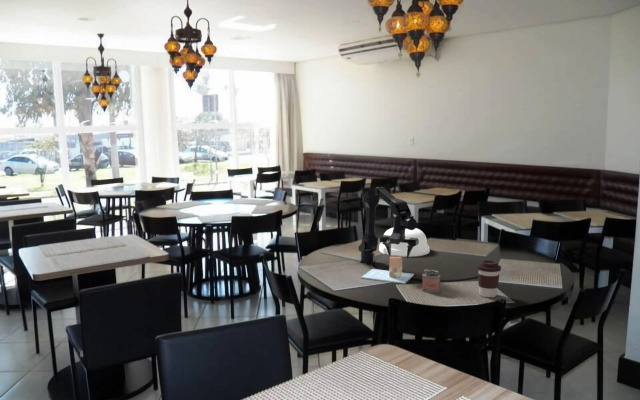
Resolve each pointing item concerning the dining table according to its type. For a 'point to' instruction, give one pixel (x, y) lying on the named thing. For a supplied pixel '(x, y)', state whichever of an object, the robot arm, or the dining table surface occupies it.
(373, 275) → the blueprint board
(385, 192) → the robot arm
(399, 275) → the birch block
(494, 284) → the coffee cup
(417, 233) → the dome cover
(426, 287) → the lighter
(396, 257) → the peach block
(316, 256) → the dining table surface
